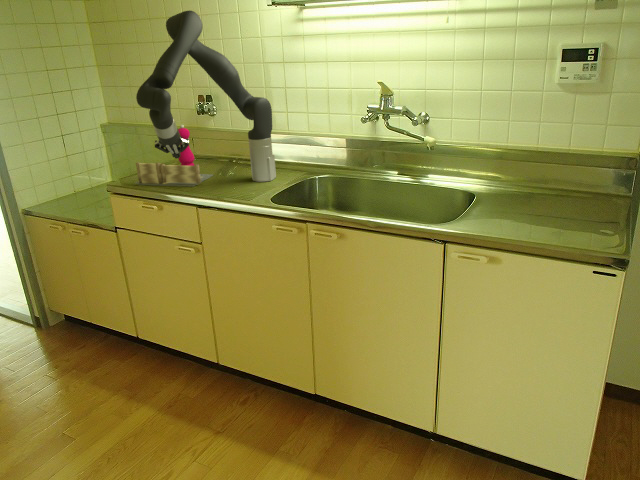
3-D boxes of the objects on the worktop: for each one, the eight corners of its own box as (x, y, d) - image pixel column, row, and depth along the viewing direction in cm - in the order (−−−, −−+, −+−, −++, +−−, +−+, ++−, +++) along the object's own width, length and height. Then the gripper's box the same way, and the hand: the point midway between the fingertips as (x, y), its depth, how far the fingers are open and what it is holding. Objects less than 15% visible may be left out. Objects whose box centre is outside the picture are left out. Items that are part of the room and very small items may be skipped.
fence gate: (162, 182, 226) (159, 164, 223) (164, 181, 228) (161, 163, 225) (199, 183, 221) (197, 165, 219) (202, 182, 223) (199, 164, 220)
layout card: (213, 175, 238) (213, 174, 237) (193, 186, 221) (193, 185, 221) (156, 173, 245) (156, 172, 245) (133, 184, 229) (133, 183, 229)
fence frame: (138, 183, 229) (134, 163, 226) (140, 182, 231) (137, 162, 228) (161, 183, 226) (158, 163, 223) (164, 182, 228) (160, 162, 225)
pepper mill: (193, 169, 250) (187, 125, 243) (178, 170, 250) (171, 126, 243) (197, 165, 257) (191, 122, 249) (182, 166, 257) (175, 123, 250)
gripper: (185, 119, 192) (195, 147, 208) (147, 121, 191) (159, 149, 207) (185, 137, 189) (194, 163, 204) (146, 139, 188) (159, 166, 204)
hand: (177, 156), depth 206 cm, fingers closed
